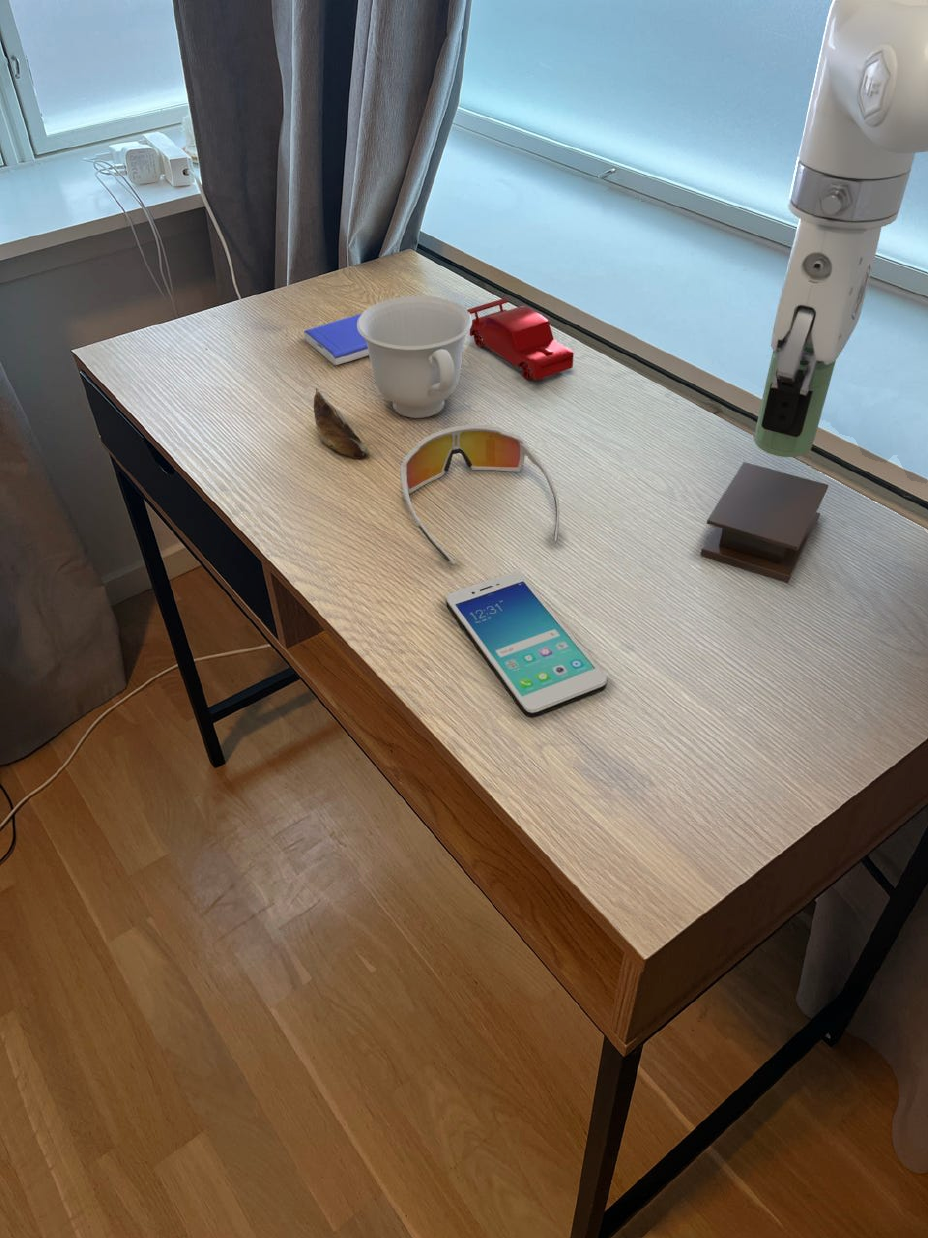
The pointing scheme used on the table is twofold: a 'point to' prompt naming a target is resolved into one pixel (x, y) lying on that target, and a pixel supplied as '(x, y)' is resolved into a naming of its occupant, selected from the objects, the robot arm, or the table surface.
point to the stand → (764, 521)
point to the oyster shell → (336, 429)
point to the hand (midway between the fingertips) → (790, 413)
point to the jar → (803, 443)
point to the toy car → (521, 340)
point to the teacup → (415, 350)
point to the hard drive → (338, 340)
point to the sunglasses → (479, 452)
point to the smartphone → (525, 643)
